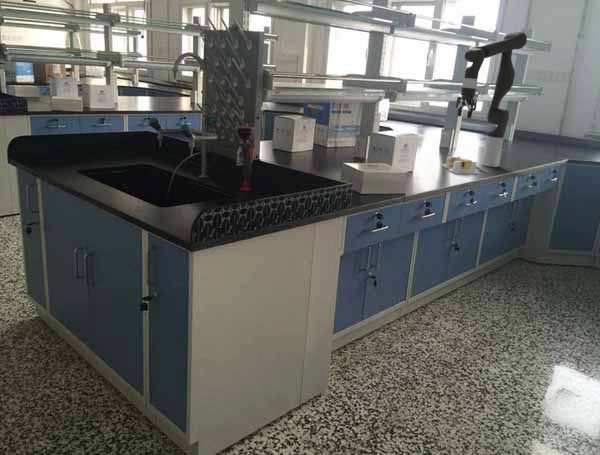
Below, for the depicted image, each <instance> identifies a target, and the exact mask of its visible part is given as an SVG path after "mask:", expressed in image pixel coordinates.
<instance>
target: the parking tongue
mask: <svg viewBox="0 0 600 455" xmlns="http://www.w3.org/2000/svg"><path fill="white" fill-rule="evenodd" d="M459 157H460V156H459ZM459 157H458V156H447V157H446V162H445V163H444V164H443V163H442V164H441V167H442V168H445V169H448V170H449V169H453V164H454V161H459Z"/></svg>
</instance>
